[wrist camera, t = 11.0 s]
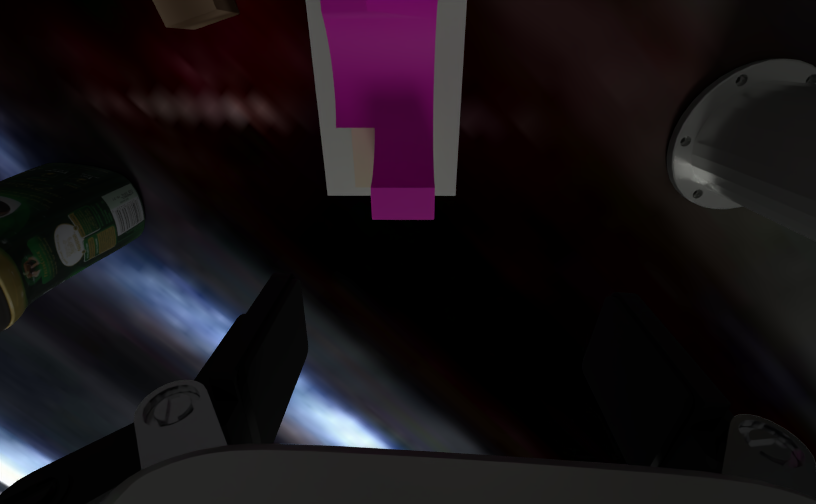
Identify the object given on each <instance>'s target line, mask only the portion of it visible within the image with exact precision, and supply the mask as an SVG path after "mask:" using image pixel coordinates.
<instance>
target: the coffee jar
mask: <svg viewBox="0 0 816 504" xmlns="http://www.w3.org/2000/svg"><path fill="white" fill-rule="evenodd" d="M144 226H145V214H144V207H143V203H142V200H141V198H140V196H139V194H138V192H137V190H136V188H135V187H134V185H133V184H132V183H131V182H130V181H129V180H128V179H127V178H126V177H124V176H123V175H121V174H119V173H117V172H114V171H111V170H107V169H103V168H98V167H94V166H89V165H81V164H73V163H48V164H44V165H41V166H38V167H35V168H33V169H30V170H27V171H25V172H22V173H20V174H17V175H15V176H12V177H10V178H7V179H5V180H2V181H0V332H2V331H3V330H5V329H7V328H8V327H10V326H11V325H12V324H13V323H14V322H16V321H17V320H18V319H19V317H20V316H21V315H22V313H23V312H24V310H25V309H26V307H27V306H28V305H29V304H31V303H32V302H33V301H34V300H36V299H37V298H39V297H40V296H41V295H43V294H44V293H46V292H47V291H49V290H50V289H52V288H54V287H55V286H57V285H59V284H60V283H62V282H64V281H65V280H67V279H68V278H70V277H72V276H73V275H75V274H77V273H78V272H80V271H82V270H83V269H85V268H87V267H88V266H90V265H92V264H94V263H95V262H97V261H99V260H101V259H102V258H104V257H106V256H108V255H110V254H111V253H113V252H115V251H117V250H118V249H120V248H122V247H123V246H125V245H127V244H128V243H130V242H131V241H133V240H134V239H136V238H138V237H139V236H140V235H141V234H142V232H143V230H144Z"/></svg>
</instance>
